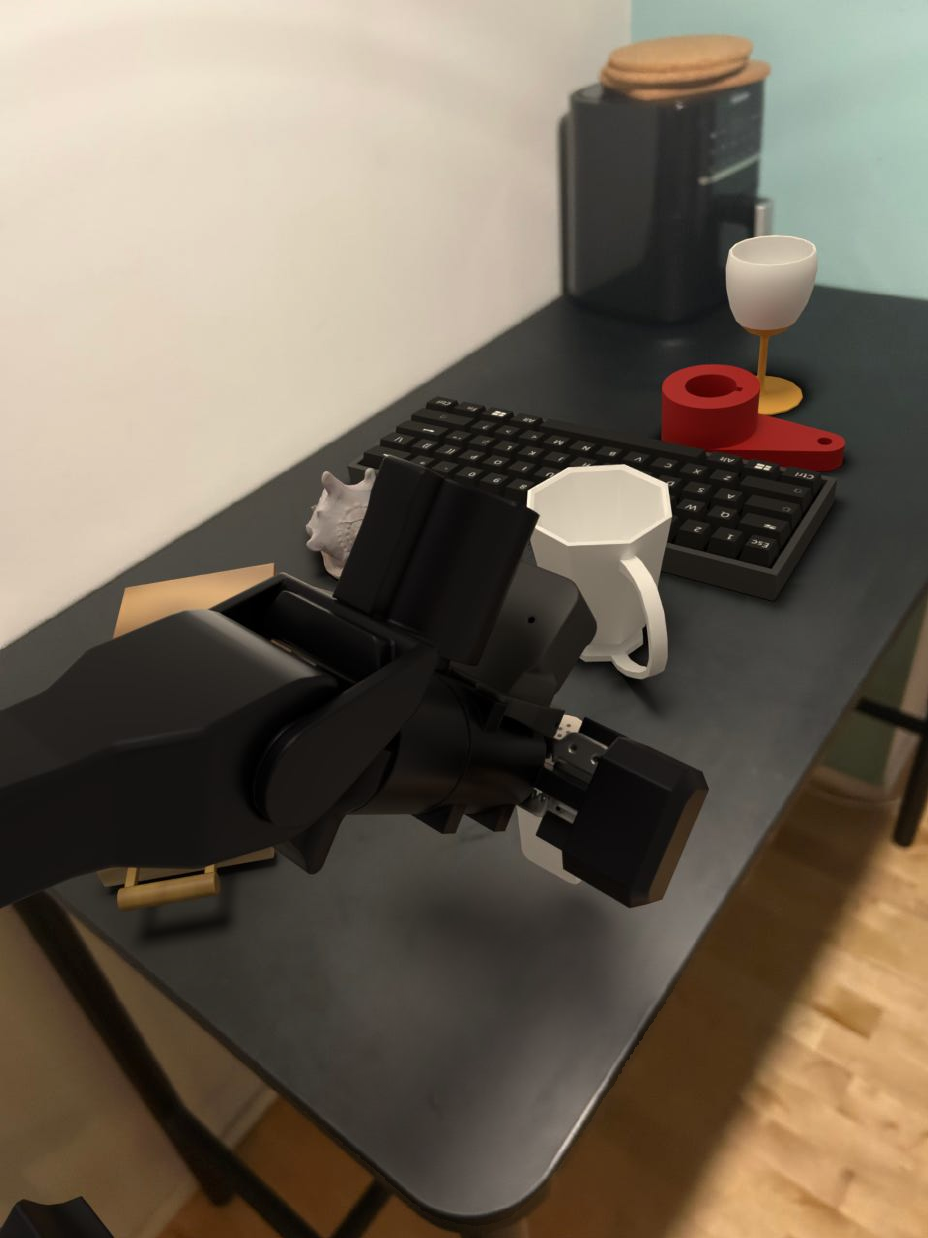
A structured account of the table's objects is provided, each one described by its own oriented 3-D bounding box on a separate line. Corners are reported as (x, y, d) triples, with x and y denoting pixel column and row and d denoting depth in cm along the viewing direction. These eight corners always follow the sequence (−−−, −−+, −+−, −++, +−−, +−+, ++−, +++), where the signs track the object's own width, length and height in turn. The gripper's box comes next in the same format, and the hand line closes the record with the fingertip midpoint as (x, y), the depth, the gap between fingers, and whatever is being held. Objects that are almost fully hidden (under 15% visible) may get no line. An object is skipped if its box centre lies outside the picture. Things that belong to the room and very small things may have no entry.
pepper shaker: (557, 812, 57) (549, 697, 51) (616, 843, 55) (614, 726, 49) (518, 859, 55) (504, 744, 49) (577, 892, 53) (570, 777, 47)
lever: (648, 460, 99) (649, 401, 94) (678, 417, 105) (679, 359, 100) (831, 489, 91) (840, 426, 87) (851, 440, 97) (861, 379, 93)
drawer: (272, 913, 61) (252, 868, 58) (93, 945, 61) (64, 901, 58) (279, 716, 75) (264, 671, 72) (133, 741, 74) (111, 697, 71)
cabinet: (289, 741, 74) (268, 679, 69) (125, 769, 73) (94, 708, 69) (292, 622, 85) (274, 562, 81) (150, 646, 85) (125, 587, 80)
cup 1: (635, 577, 84) (634, 448, 76) (727, 696, 72) (739, 557, 64) (513, 613, 82) (500, 484, 74) (588, 741, 70) (581, 603, 62)
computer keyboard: (833, 502, 89) (839, 466, 87) (774, 601, 79) (778, 563, 77) (436, 418, 111) (431, 387, 108) (352, 487, 101) (344, 455, 99)
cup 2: (700, 392, 108) (707, 248, 98) (766, 370, 110) (779, 227, 100) (751, 424, 102) (764, 274, 91) (820, 399, 104) (840, 250, 94)
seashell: (337, 600, 87) (315, 514, 81) (278, 545, 95) (253, 462, 89) (430, 553, 90) (415, 467, 84) (365, 503, 98) (347, 422, 93)
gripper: (696, 638, 33) (802, 685, 46) (324, 491, 43) (497, 564, 56) (572, 933, 34) (712, 897, 47) (235, 719, 44) (426, 739, 57)
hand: (576, 758), depth 52 cm, fingers closed on pepper shaker, 4 cm apart
